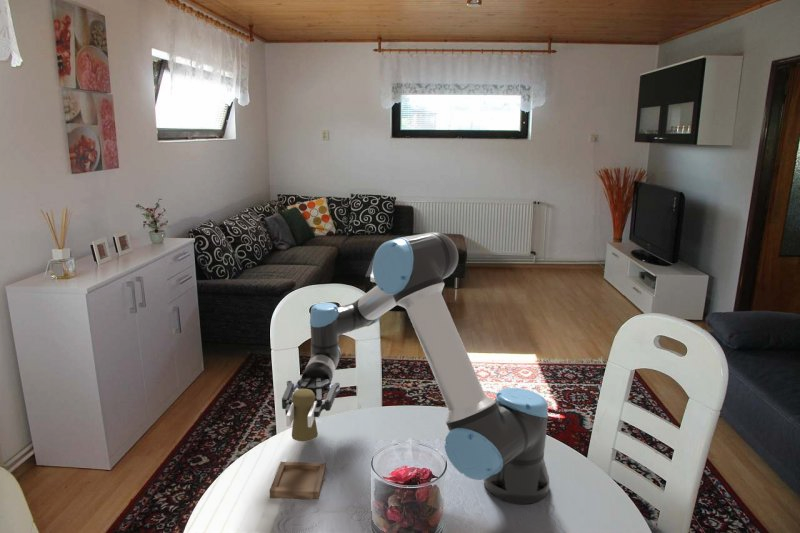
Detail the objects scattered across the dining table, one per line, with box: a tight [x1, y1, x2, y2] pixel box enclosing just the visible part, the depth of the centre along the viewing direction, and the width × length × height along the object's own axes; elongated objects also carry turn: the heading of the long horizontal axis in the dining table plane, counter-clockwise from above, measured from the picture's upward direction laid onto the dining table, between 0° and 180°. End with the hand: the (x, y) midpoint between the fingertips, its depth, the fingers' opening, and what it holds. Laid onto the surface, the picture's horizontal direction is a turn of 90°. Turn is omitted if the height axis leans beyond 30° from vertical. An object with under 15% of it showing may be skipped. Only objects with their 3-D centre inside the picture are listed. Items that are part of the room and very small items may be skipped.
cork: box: [291, 389, 319, 443], centre depth 131 cm, size 6×6×11 cm
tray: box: [269, 461, 327, 501], centre depth 133 cm, size 11×11×2 cm
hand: (298, 421), depth 126 cm, fingers closed on cork, 4 cm apart
